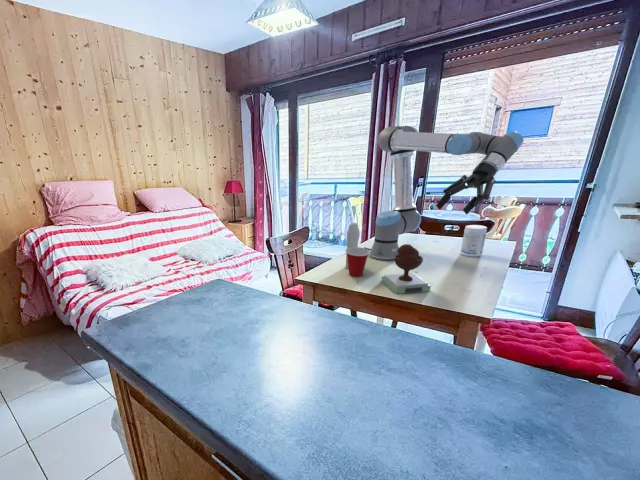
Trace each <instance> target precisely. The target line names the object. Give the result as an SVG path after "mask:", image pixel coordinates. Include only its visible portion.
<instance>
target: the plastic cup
mask: <svg viewBox="0 0 640 480" xmlns="http://www.w3.org/2000/svg"><path fill="white" fill-rule="evenodd" d="M344 251H345V252H346V253H347V260H348V274H349V276H351V277H354V278H360V277H362V276H363V274H364V270H365V267H366V263H367V259H368V257H369V256H370V251H371V250H367V249H365V248H364V247H359V246H358V247H351V248H347V247H346V249H345V250H344Z"/></svg>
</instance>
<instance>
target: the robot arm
mask: <svg viewBox="0 0 640 480" xmlns="http://www.w3.org/2000/svg"><path fill="white" fill-rule="evenodd" d="M524 141H525V140H524V137H523V135H522V134H521V133H520V132H518V131H514V130H511V131H507V132H506V133H505V134H503V136H500V135H494V134H489V133H484V132H481V131H471V132H469V133H446V132H445V133H444V132H420V131H418V130H417V128H416V127H414V126H411V125H396V126H395V125H394V126H393V125H392V126H387V127H385V128H384V129H382V131H380V133H379V135H378V137H377V145H378V147H379V148H380V150H381V151H383V152H386V153H387V152H389V154H390V155H389V156H390V158H391V159H393V176H394V177H393V178H394V202H395V203H394V204H395V205H394V207H393V208H392V210H388V211H382V212H380V213H378V214H377V215H376V219H375V227H374V229H375V230H374V231H375V232H374V242H373V244H372V247H371V248H369V247H365V246H364V247H363V248H364V249H367V250H369V251H370V253H369V257H370V258H371V259H375V260H379V261H395V259H394V256H395V255H397V254H399V253H398V249H399V247H400V246H399V236H400V235H404V234H410V233H412V232H415V231H416V230H417V229H418V228H419V227H420V225H421V222H422V216H421V214H420V212H419V211H418V210H417V206H416V205H415V204H414V195H413V194H414V193H413V188H414V187H413V155H414V154H415V153H416V152H427V153H428V152H429V153H438V154H439V153H440V154H441V153H442V154H450V155H452V156H462V155H473V154H479V155H484V157H483V158H482V159H481V160H480V162H479V163H478V164H477V165H476V166H475V168H474V169H473V170H472V173H471V175H468V176H467V175H466V174H463V175H461V177H460V178H459V179H458V180H455V182H453V183H452V184H450V185H448V186H447V187H446V188H445V189H443V191H442V192H443V196H442V197H441V198H440V199H439V201H438V202H437V203H436V205H435V206H436V208H437V209H438V210H442V208H444V206H446V204H447V203H448V202H449V200H450V199H451V198H452V196H454V195H456V194H457V193H459V192H462V191H463V190H468V189H476V196H473V197H472V198H471V200H470V201H469V202H468V203H467V204H466V205H465V207H463V208H462V211H463V213H465V215H468V214H470V212H471V211H473V209H474V208H475V207H477V205H479V204H480V202H482V201H484V200H485V201H488V200H489V199H490V196H491V193H492V189H493V186H494V185H495V183H496V181H497V180H496V179H495V176H496V174H497V173H498V172H499V171H500V170H501V169H502V168H503V166H505V164H506V163H508V161H509V160H510V159H511V158H512V157H513V155H514V154H516V153H517V152H518V150H519V149H520V147H522V145H523V143H524ZM484 185H485V186H484Z"/></svg>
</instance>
